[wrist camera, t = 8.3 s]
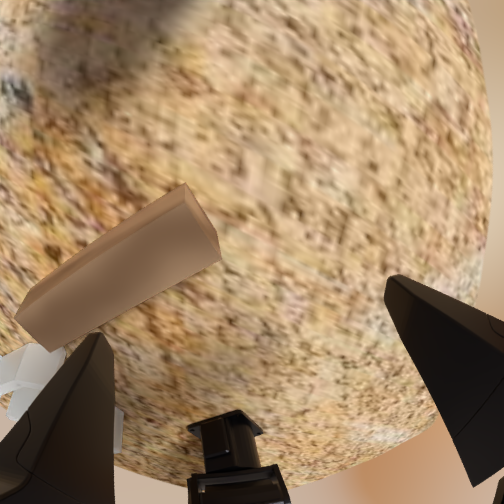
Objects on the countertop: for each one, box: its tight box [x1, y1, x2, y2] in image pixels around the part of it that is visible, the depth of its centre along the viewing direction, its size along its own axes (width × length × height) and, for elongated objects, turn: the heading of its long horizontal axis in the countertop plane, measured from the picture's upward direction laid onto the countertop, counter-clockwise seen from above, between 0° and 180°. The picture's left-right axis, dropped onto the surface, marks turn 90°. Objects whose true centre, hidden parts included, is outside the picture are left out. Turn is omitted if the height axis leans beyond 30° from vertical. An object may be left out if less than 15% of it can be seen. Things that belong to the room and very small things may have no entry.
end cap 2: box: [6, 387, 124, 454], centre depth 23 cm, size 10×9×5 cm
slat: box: [14, 182, 222, 353], centre depth 17 cm, size 4×14×4 cm, turn 116°
